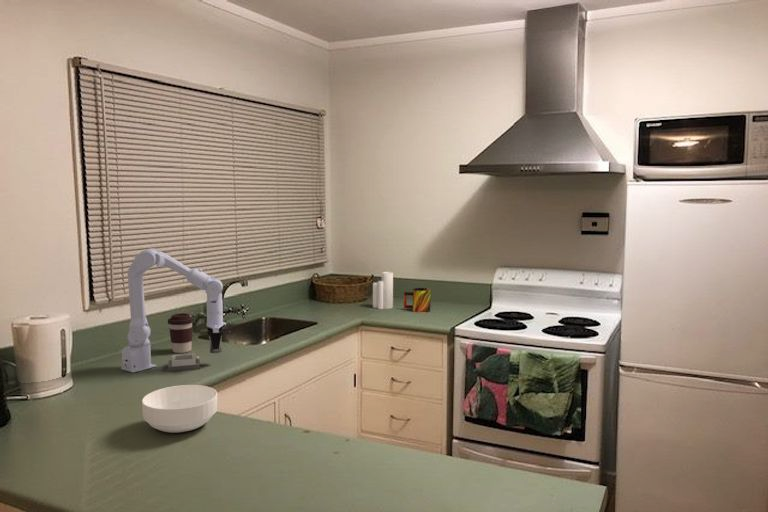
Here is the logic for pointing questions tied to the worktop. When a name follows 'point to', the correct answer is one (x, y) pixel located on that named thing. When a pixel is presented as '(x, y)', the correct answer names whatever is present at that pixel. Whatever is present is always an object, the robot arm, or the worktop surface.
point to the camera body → (184, 362)
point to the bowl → (179, 407)
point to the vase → (383, 292)
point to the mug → (419, 299)
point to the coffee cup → (181, 332)
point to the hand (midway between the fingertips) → (215, 347)
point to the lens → (215, 349)
